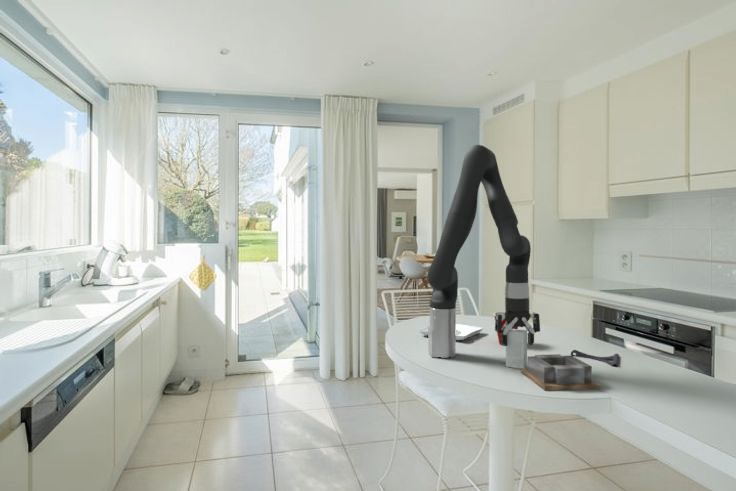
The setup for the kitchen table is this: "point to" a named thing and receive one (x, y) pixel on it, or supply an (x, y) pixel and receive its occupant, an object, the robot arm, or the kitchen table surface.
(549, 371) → the holder
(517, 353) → the skincare box
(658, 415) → the kitchen table surface
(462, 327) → the salad plate
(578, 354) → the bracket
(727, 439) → the kitchen table surface
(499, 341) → the plastic cup
